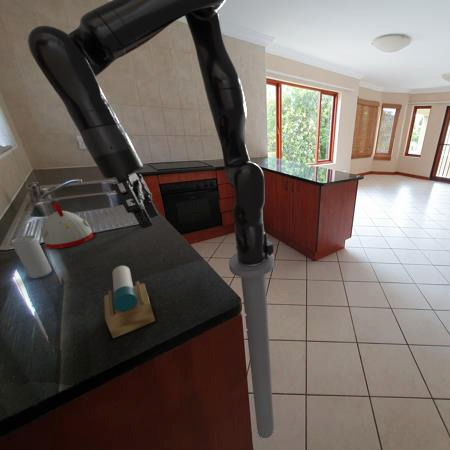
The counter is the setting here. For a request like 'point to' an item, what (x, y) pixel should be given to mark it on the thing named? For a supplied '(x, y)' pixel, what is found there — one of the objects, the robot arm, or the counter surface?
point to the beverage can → (32, 256)
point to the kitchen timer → (65, 229)
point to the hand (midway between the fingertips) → (151, 221)
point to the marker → (123, 289)
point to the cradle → (128, 313)
